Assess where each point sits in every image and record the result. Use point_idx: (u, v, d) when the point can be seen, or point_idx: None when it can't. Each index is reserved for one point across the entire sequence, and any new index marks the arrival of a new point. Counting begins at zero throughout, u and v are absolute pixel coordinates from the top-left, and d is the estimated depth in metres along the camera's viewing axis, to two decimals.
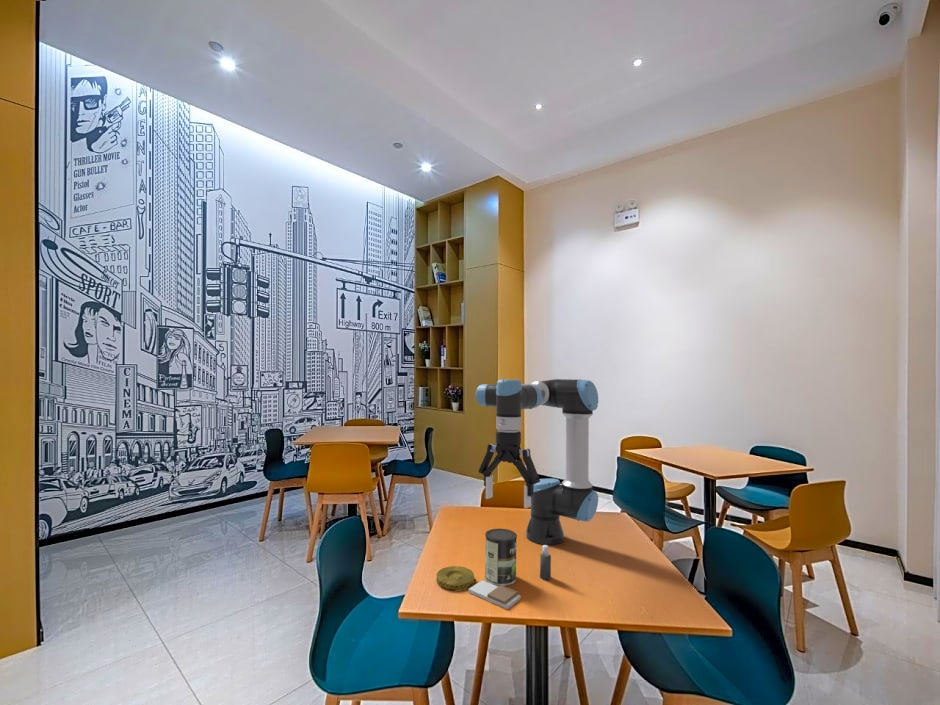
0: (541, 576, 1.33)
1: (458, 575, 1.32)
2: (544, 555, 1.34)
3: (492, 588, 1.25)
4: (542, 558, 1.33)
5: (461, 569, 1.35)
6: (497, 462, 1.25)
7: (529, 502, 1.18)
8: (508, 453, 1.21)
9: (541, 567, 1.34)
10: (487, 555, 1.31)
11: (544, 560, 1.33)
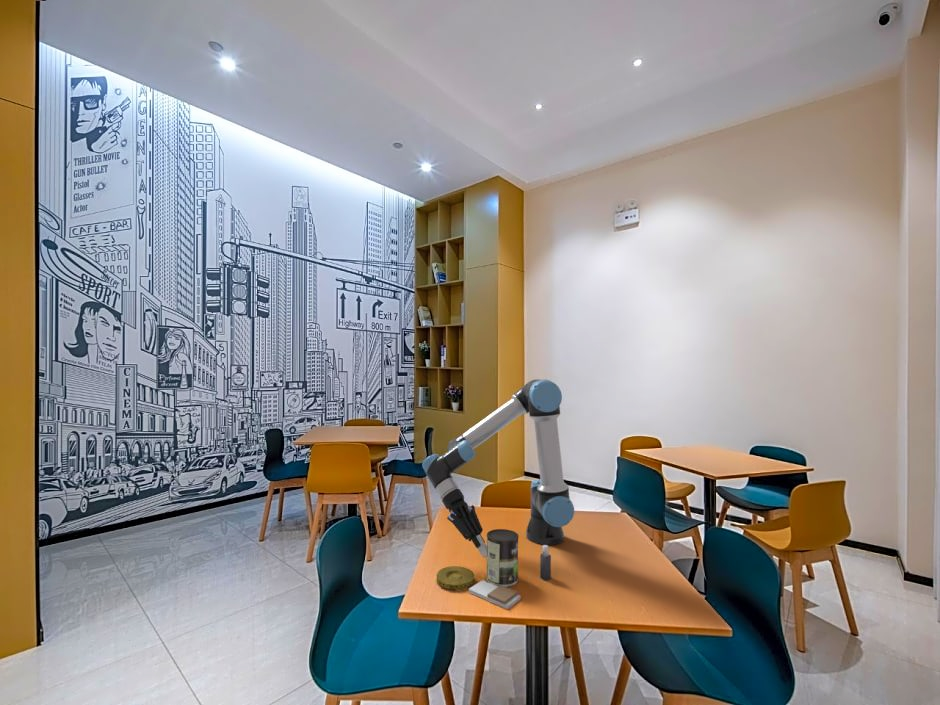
0: (541, 576, 1.33)
1: (458, 575, 1.32)
2: (544, 555, 1.34)
3: (492, 588, 1.25)
4: (542, 558, 1.33)
5: (461, 569, 1.35)
6: None
7: (484, 551, 1.36)
8: None
9: (541, 567, 1.34)
10: (489, 556, 1.31)
11: (544, 560, 1.33)
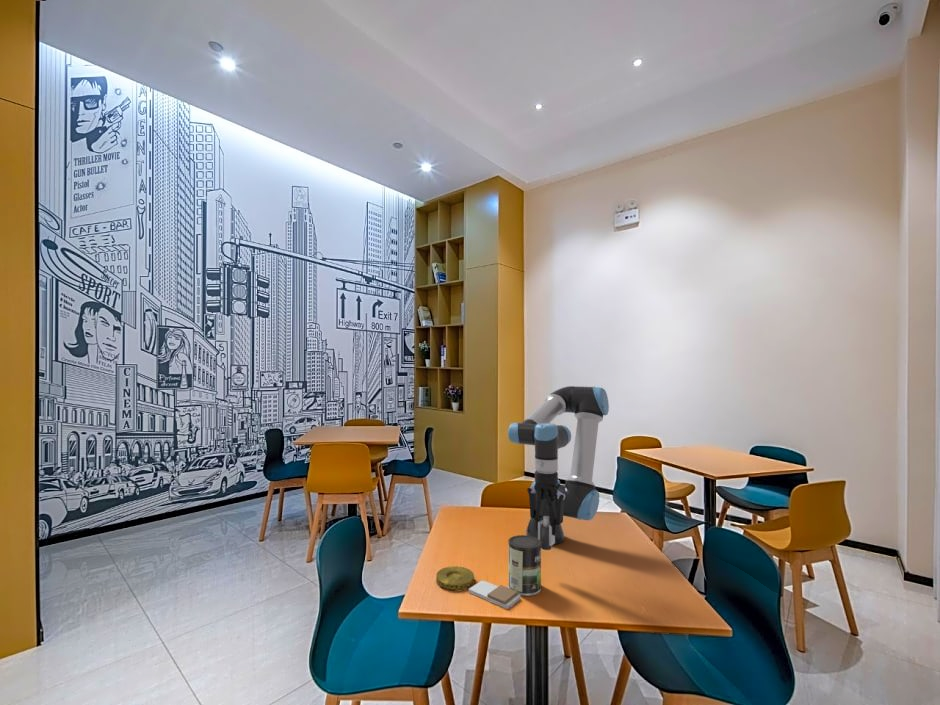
0: (542, 546, 1.34)
1: (458, 575, 1.31)
2: (545, 525, 1.35)
3: (492, 588, 1.25)
4: (543, 528, 1.34)
5: (461, 569, 1.35)
6: (541, 502, 1.36)
7: (553, 540, 1.34)
8: (547, 492, 1.33)
9: (542, 537, 1.34)
10: (511, 563, 1.26)
11: (544, 530, 1.34)
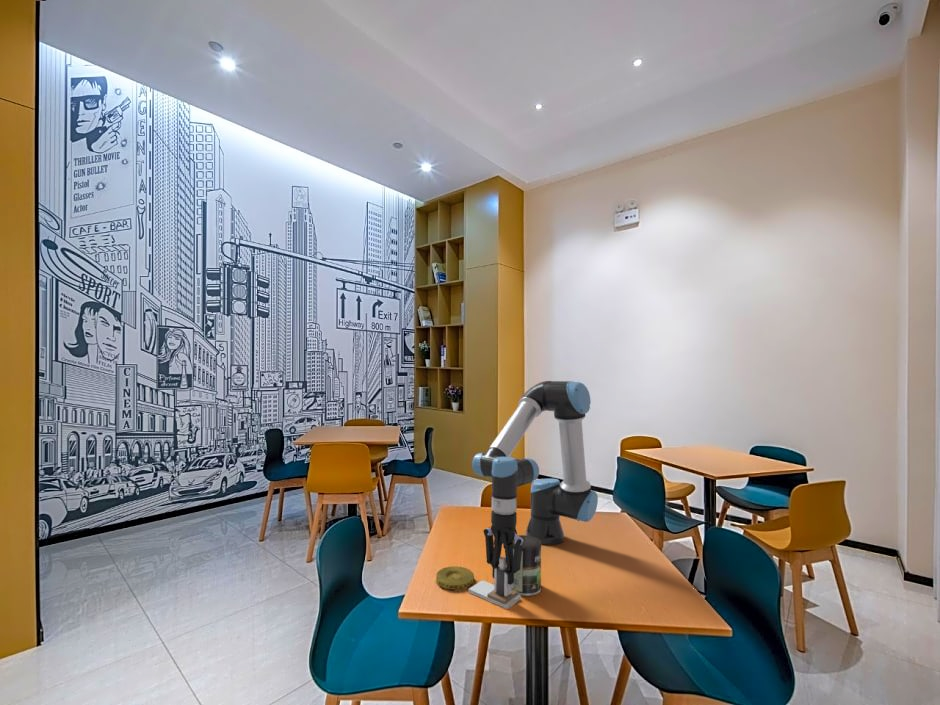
0: (497, 592, 1.20)
1: (458, 575, 1.31)
2: (501, 568, 1.20)
3: (492, 588, 1.25)
4: (498, 572, 1.20)
5: (461, 569, 1.35)
6: (498, 546, 1.22)
7: (509, 589, 1.20)
8: (503, 535, 1.19)
9: (497, 582, 1.20)
10: None
11: (500, 574, 1.19)
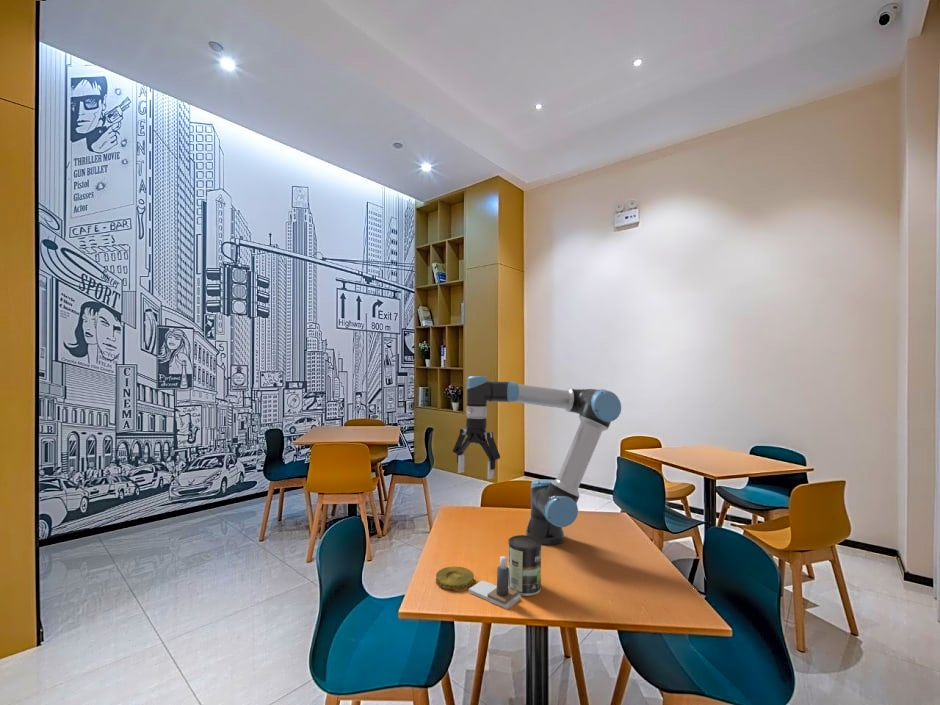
0: (497, 591, 1.20)
1: (458, 575, 1.31)
2: (501, 567, 1.20)
3: (492, 588, 1.25)
4: (498, 571, 1.20)
5: (461, 569, 1.34)
6: (467, 443, 1.54)
7: (492, 474, 1.47)
8: (475, 435, 1.50)
9: (497, 581, 1.20)
10: (511, 563, 1.26)
11: (500, 573, 1.20)
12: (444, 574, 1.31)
